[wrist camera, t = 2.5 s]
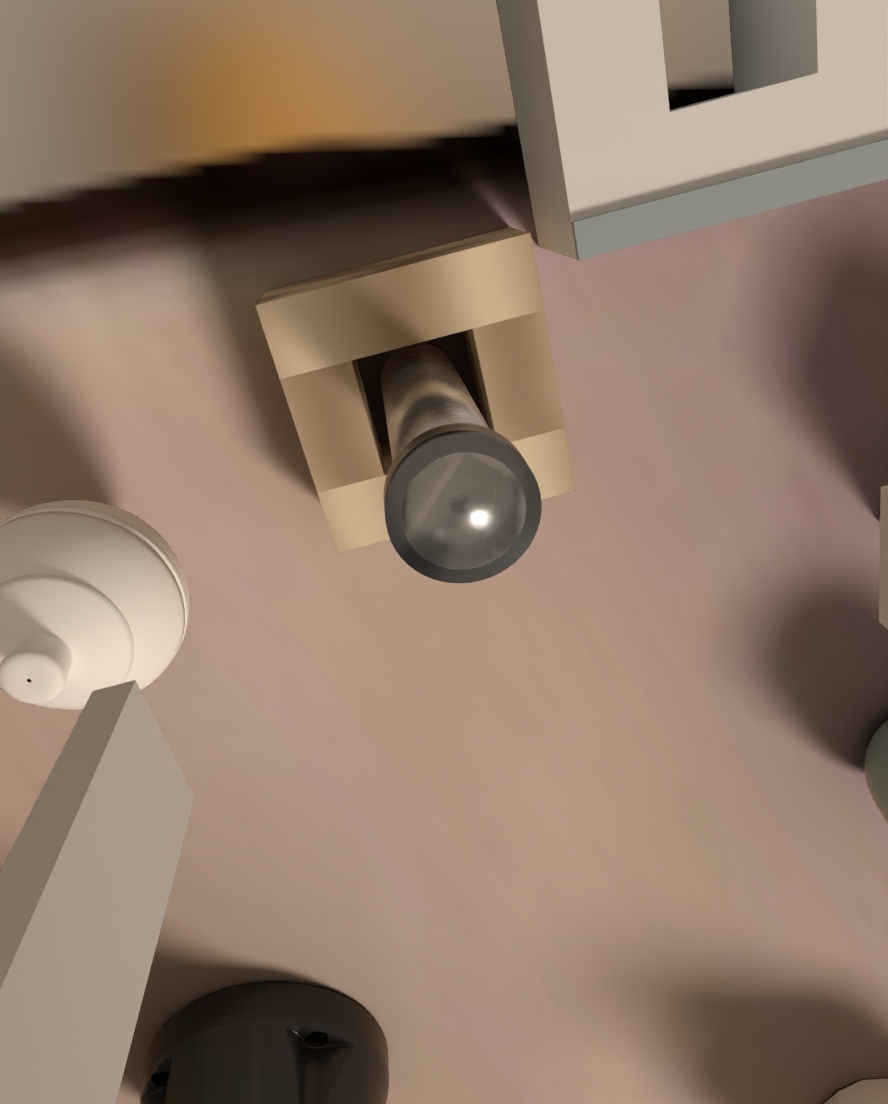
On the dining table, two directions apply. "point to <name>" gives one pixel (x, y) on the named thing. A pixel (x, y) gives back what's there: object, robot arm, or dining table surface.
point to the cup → (878, 768)
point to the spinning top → (85, 602)
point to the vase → (863, 1093)
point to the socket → (690, 116)
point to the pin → (451, 475)
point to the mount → (401, 320)
